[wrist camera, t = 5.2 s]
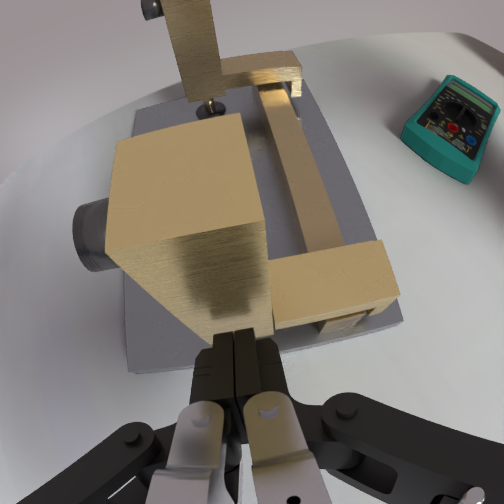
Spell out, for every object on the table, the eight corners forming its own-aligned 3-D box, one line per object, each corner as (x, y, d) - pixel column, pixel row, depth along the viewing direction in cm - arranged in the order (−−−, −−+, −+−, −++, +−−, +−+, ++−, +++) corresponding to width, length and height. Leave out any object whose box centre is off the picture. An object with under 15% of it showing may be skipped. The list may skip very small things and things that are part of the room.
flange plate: (302, 88, 28) (303, 78, 26) (396, 325, 17) (404, 320, 16) (140, 119, 28) (136, 109, 26) (136, 373, 17) (127, 371, 16)
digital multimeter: (394, 145, 24) (403, 121, 22) (443, 88, 28) (449, 69, 26) (463, 194, 22) (478, 172, 19) (494, 122, 26) (503, 104, 23)
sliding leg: (363, 268, 17) (446, 99, 7) (377, 317, 16) (504, 183, 6) (186, 302, 17) (69, 157, 7) (192, 354, 16) (48, 264, 5)
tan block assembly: (289, 83, 26) (286, -39, 15) (378, 319, 17) (509, 183, 6) (177, 102, 26) (143, -17, 15) (194, 356, 17) (48, 264, 5)
